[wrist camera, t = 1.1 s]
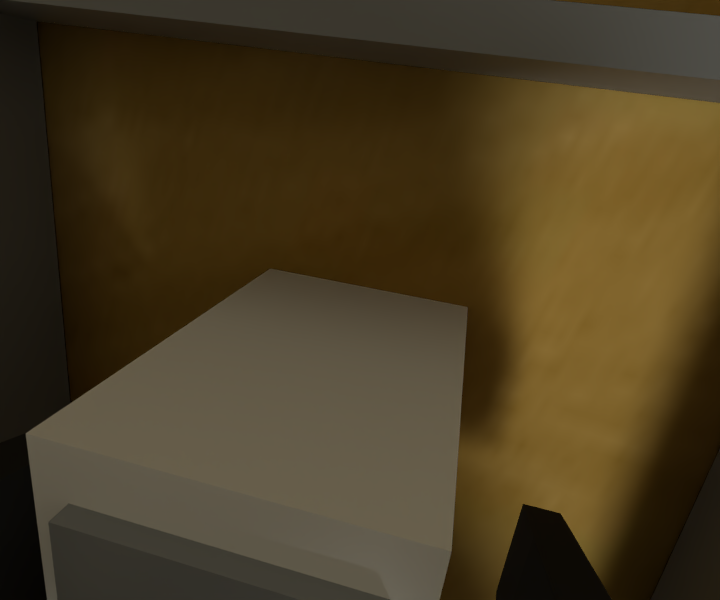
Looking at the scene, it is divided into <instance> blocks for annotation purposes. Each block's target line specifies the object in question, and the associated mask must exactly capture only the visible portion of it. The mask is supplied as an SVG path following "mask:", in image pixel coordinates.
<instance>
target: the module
mask: <svg viewBox="0 0 720 600" xmlns="http://www.w3.org/2000/svg"><path fill="white" fill-rule="evenodd" d="M467 314H468V307H465V306H460V305H455V304H450V303H445V302H440V301H434V300H429V299H424V298H419V297H414V296H409V295H404V294H399V293H393V292H388V291H383V290H378V289H373V288H368V287H363V286H358V285H352V284H347V283H342V282H337V281H332V280H327V279H322V278H317V277H312V276H306V275H301V274H296V273H291V272H286V271H281V270H276V269H271V268H270V269H269V270H267V271H266V272H264V273H263V274H261V275H260V276H258V277H257V278H255V279H254V280H252V281H251V282H250V283H248V284H247V285H245V286H244V287H242V288H241V289H239V290H238V291H236V292H235V293H233V294H232V295H230V296H229V297H227V298H226V299H224V300H223V301H221V302H220V303H218V304H217V305H215V306H214V307H212V308H211V309H209V310H208V311H207V312H205V313H204V314H202V315H201V316H199V317H198V318H196V319H195V320H193V321H192V322H190V323H189V324H187V325H186V326H184V327H183V328H181V329H180V330H178V331H177V332H175V333H174V334H172V335H171V336H169V337H168V338H166V339H165V340H164V341H162V342H161V343H159V344H158V345H156V346H155V347H153V348H152V349H150V350H149V351H147V352H146V353H144V354H143V355H141V356H140V357H138V358H137V359H135V360H134V361H132V362H131V363H129V364H128V365H126V366H125V367H123V368H122V369H120V370H119V371H118V372H116V373H115V374H113V375H112V376H110V377H109V378H107V379H106V380H104V381H103V382H101V383H100V384H98V385H97V386H95V387H94V388H92V389H91V390H89V391H88V392H86V393H85V394H83V395H82V396H80V397H79V398H77V399H76V400H75V401H73V402H72V403H70V404H69V405H67V406H66V407H64V408H63V409H61V410H60V411H58V412H57V413H55V414H54V415H52V416H51V417H49V418H48V419H46V420H45V421H43V422H42V423H40V424H39V425H37V426H36V427H34V428H33V429H31V430H30V431H29V432H27V433H26V440H27V448H28V456H29V464H30V471H31V479H32V487H33V495H34V502H35V510H36V518H37V526H38V533H39V541H40V549H41V557H42V564H43V572H44V580H45V588H46V595H47V600H440V596H441V592H442V588H443V584H444V580H445V576H446V572H447V568H448V564H449V560H450V556H451V552H452V539H453V524H454V509H455V494H456V479H457V464H458V449H459V434H460V419H461V404H462V389H463V374H464V359H465V344H466V329H467Z"/></svg>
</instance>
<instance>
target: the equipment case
mask: <svg viewBox="0 0 720 600" xmlns="http://www.w3.org/2000/svg"><path fill="white" fill-rule="evenodd" d="M37 22H46V23H54V24H62V25H71V26H79V27H88V28H96V29H104V30H113V31H121V32H130V33H138V34H146V35H155V36H163V37H172V38H180V39H188V40H197V41H205V42H214V43H222V44H230V45H239V46H247V47H256V48H264V49H272V50H281V51H289V52H298V53H306V54H314V55H323V56H331V57H340V58H348V59H356V60H365V61H373V62H382V63H390V64H398V65H407V66H415V67H423V68H432V69H440V70H449V71H457V72H465V73H474V74H482V75H491V76H499V77H507V78H516V79H524V80H533V81H541V82H549V83H558V84H566V85H575V86H583V87H591V88H600V89H608V90H617V91H625V92H633V93H642V94H650V95H659V96H667V97H675V98H684V99H692V100H701V101H709V102H717V103H720V16H716V15H705V14H694V13H683V12H673V11H662V10H651V9H640V8H630V7H619V6H608V5H597V4H587V3H576V2H565V1H554V0H0V443H1V442H4V441H6V440H9V439H11V438H14V437H17V436H19V435H22V434H25V433H27V432H29V431H30V430H31V429H33V428H34V427H36V426H37V425H39V424H40V423H42V422H43V421H45V420H46V419H48V418H49V417H51V416H52V415H54V414H55V413H57V412H58V411H60V410H61V409H63V408H64V407H66V406H67V405H69V404H70V395H69V383H68V372H67V361H66V349H65V338H64V327H63V315H62V304H61V293H60V281H59V270H58V259H57V247H56V236H55V225H54V213H53V202H52V191H51V179H50V168H49V157H48V145H47V134H46V123H45V111H44V100H43V89H42V78H41V66H40V55H39V44H38V32H37ZM651 600H720V449H719V452H718V454H717V456H716V458H715V460H714V462H713V465H712V467H711V469H710V471H709V473H708V476H707V478H706V480H705V482H704V484H703V486H702V489H701V491H700V493H699V495H698V497H697V500H696V502H695V504H694V506H693V508H692V510H691V513H690V515H689V517H688V519H687V521H686V524H685V526H684V528H683V530H682V532H681V534H680V537H679V539H678V541H677V543H676V545H675V548H674V550H673V552H672V554H671V556H670V558H669V561H668V563H667V565H666V567H665V569H664V572H663V574H662V576H661V578H660V580H659V582H658V585H657V587H656V589H655V591H654V593H653V596H652V598H651Z"/></svg>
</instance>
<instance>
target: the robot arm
mask: <svg viewBox="0 0 720 600" xmlns="http://www.w3.org/2000/svg"><path fill="white" fill-rule="evenodd" d="M0 600H47V595H46V588H45V580H44V572H43V564H42V557H41V549H40V541H39V533H38V526H37V518H36V510H35V502H34V495H33V487H32V479H31V471H30V464H29V456H28V448H27V440H26V433H25V434H22V435H19V436H17V437H14V438H11V439H9V440H6V441H4V442H1V443H0ZM496 600H612V599H611V597H610V595H609V594H608V592H607V591H606V589H605V587H604V586H603V584H602V582H601V581H600V579H599V577H598V576H597V574H596V572H595V571H594V569H593V567H592V566H591V564H590V562H589V561H588V559H587V557H586V556H585V554H584V552H583V550H582V549H581V547H580V545H579V544H578V542H577V540H576V539H575V537H574V535H573V533H572V532H571V530H570V528H569V527H568V525H567V523H566V522H565V520H564V519H563V517H562V515H561V514H560V513H556V512H553V511H549V510H545V509H541V508H537V507H533V506H529V505H525V504H523V506H522V509H521V513H520V516H519V519H518V523H517V526H516V529H515V532H514V536H513V539H512V542H511V545H510V549H509V552H508V555H507V558H506V562H505V565H504V568H503V572H502V575H501V578H500V581H499V585H498V588H497V591H496Z"/></svg>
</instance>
